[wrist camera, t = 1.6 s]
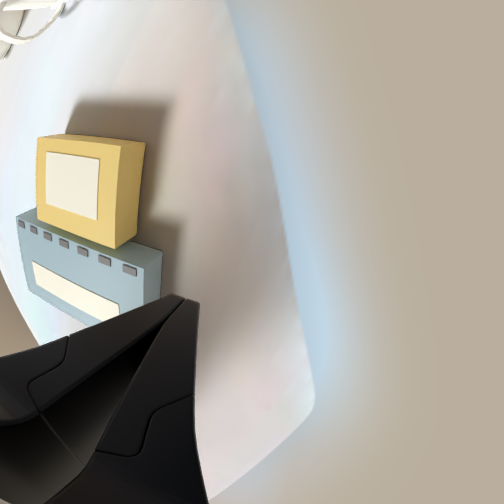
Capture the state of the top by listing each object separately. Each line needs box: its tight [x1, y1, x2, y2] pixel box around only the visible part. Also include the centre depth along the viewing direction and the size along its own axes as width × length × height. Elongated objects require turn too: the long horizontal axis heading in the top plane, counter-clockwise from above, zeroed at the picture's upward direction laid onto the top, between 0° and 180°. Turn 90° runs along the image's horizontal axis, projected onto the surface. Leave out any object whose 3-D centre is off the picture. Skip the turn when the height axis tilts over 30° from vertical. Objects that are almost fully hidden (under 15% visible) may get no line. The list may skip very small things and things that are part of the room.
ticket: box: [16, 208, 163, 327], centre depth 18 cm, size 8×14×3 cm, turn 77°
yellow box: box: [36, 134, 146, 249], centre depth 15 cm, size 6×8×3 cm
